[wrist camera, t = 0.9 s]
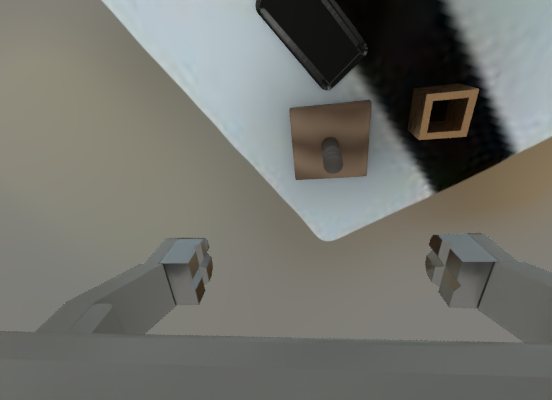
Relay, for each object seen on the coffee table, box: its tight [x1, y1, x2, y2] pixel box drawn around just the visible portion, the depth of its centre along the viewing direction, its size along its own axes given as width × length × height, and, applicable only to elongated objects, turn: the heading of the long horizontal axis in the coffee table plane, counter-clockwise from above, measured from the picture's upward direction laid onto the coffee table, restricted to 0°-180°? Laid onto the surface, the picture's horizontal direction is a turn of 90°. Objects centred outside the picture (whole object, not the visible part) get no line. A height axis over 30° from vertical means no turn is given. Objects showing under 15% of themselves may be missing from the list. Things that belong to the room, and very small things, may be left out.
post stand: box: [289, 100, 371, 180], centre depth 38 cm, size 12×12×10 cm
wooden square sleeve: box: [407, 84, 479, 140], centre depth 36 cm, size 6×6×5 cm
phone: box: [256, 0, 368, 90], centre depth 34 cm, size 8×1×15 cm
